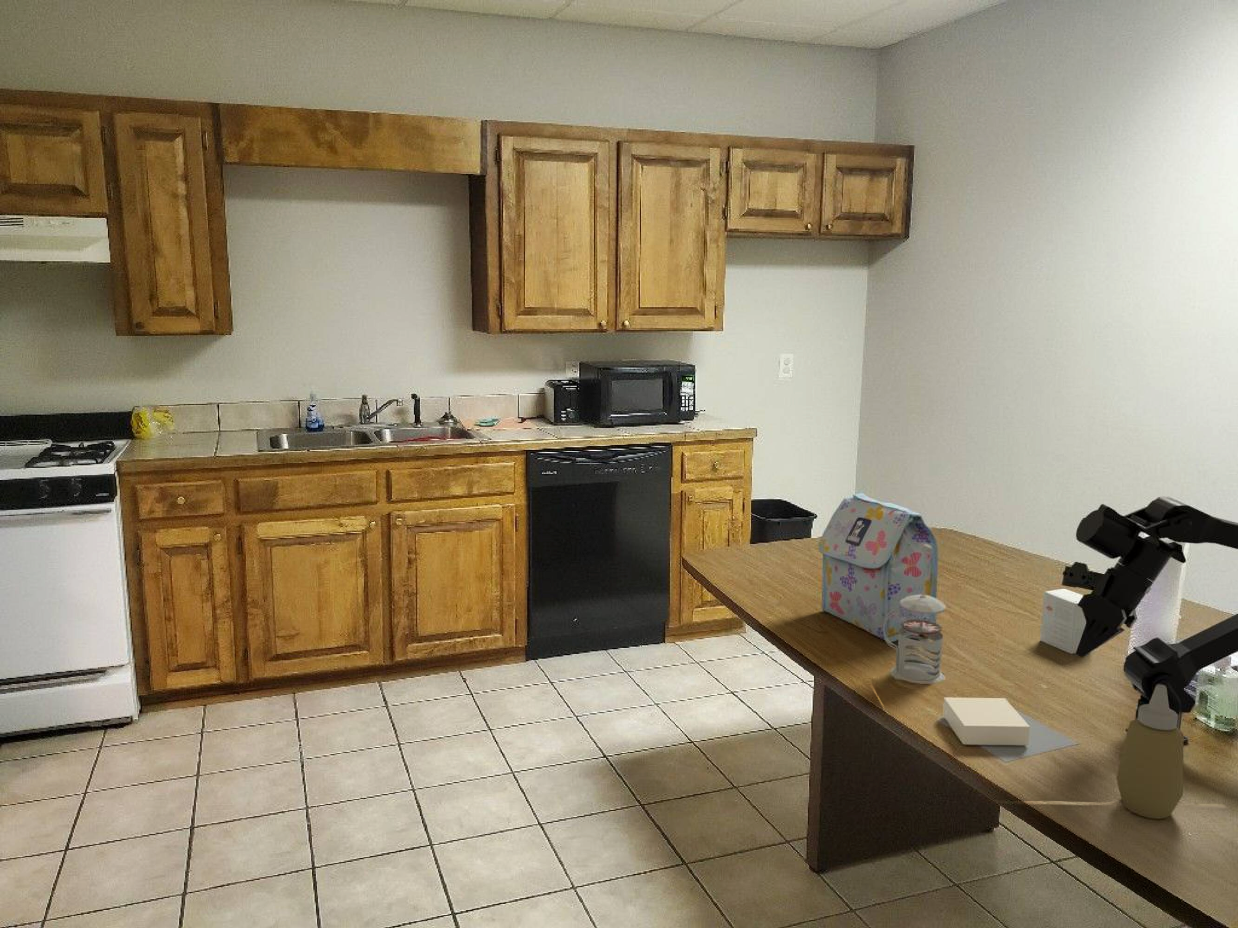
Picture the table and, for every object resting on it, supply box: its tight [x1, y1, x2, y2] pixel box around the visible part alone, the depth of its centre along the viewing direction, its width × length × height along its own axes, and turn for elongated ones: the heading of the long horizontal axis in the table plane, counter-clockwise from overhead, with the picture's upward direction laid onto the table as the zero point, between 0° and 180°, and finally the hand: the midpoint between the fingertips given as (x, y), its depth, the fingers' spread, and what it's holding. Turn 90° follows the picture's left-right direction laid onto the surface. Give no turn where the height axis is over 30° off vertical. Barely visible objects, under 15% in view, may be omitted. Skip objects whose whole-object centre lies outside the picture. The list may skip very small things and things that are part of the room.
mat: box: [935, 708, 1080, 763], centre depth 149 cm, size 15×15×1 cm
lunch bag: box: [817, 492, 939, 643], centre depth 196 cm, size 22×17×26 cm
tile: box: [942, 696, 1030, 746], centre depth 149 cm, size 4×10×10 cm
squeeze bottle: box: [1116, 684, 1184, 820], centre depth 126 cm, size 8×8×18 cm
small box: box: [1039, 588, 1086, 655], centre depth 185 cm, size 8×6×10 cm
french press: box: [882, 545, 947, 685], centre depth 169 cm, size 10×12×25 cm
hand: (1078, 655), depth 146 cm, fingers closed
